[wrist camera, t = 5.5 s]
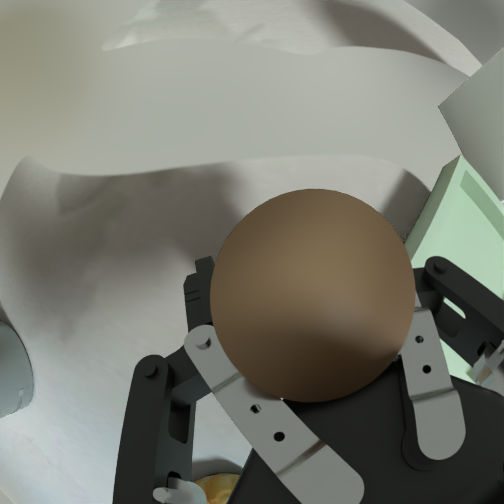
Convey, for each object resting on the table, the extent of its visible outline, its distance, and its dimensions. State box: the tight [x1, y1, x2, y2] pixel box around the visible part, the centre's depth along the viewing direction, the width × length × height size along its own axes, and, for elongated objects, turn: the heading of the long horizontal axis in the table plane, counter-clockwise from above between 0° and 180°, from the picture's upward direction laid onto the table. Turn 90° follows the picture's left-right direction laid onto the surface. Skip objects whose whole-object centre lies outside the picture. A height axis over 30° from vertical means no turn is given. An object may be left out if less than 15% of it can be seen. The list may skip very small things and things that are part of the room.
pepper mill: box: [210, 189, 416, 402], centre depth 12 cm, size 5×5×11 cm
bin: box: [404, 155, 504, 386], centre depth 19 cm, size 16×16×3 cm
